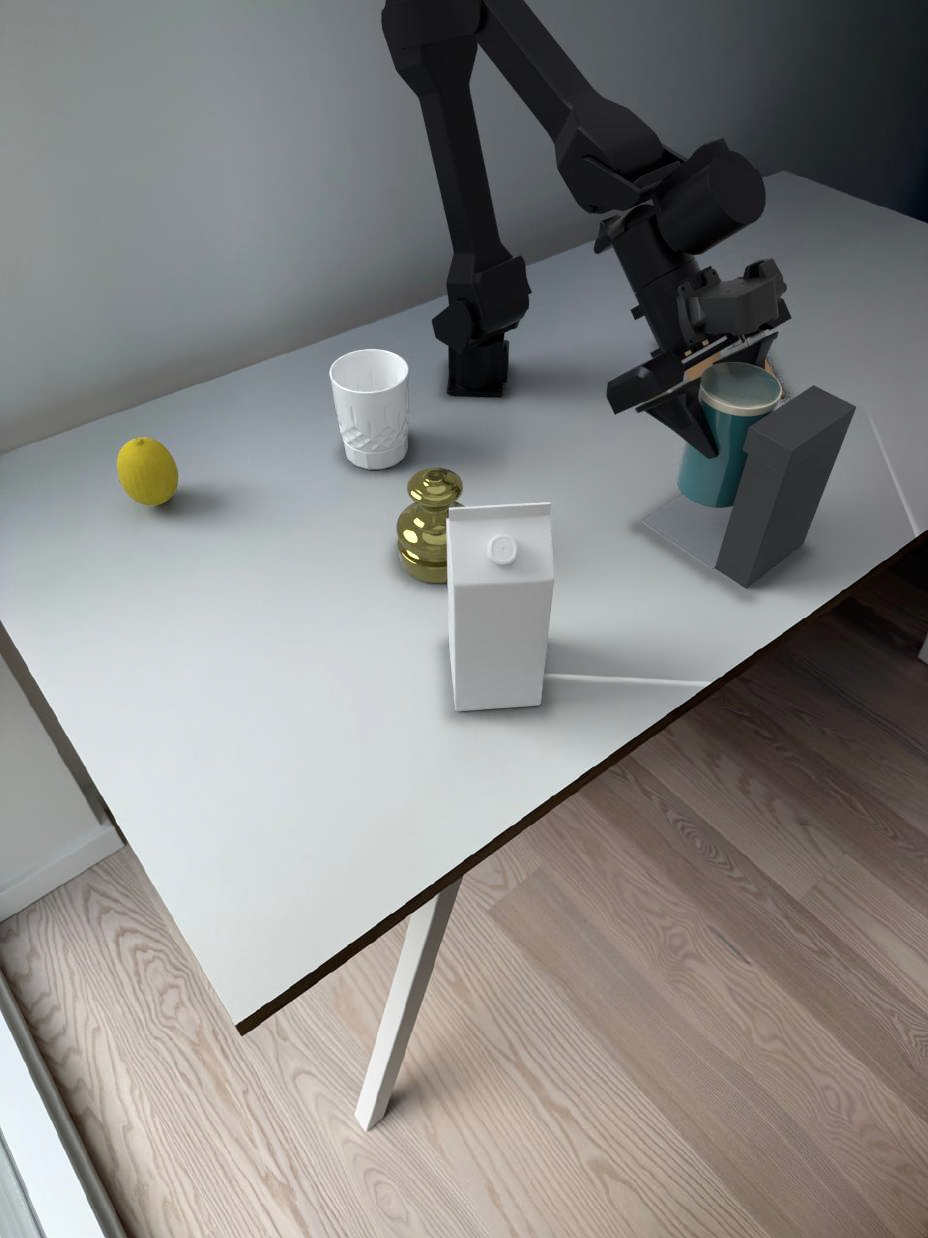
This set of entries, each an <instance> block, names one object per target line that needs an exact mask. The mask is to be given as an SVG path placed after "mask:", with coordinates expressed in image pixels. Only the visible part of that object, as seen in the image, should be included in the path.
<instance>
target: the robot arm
mask: <svg viewBox="0 0 928 1238" xmlns="http://www.w3.org/2000/svg"><path fill="white" fill-rule="evenodd" d="M380 23H381V31H382V34H383V37H384V39H385V42H386V46H387V48H388V51H389V54H390V57H391V61H392V63H393V67H394V69H395V71H396V73H397V74H398V76H400V77H401V79H402V80H403V81H404V82H405V84H406V85H407V86H408V87H409V88H410V90H411V91H412V92H413V93H414V94H415V96H416V97H417V98H418V102H419V105H420V110H421V114H422V118H423V123H424V127H425V131H426V135H427V140H428V141H427V142H428V144H429V150H430V154H431V158H432V162H433V167H434V171H435V176H436V180H437V184H438V189H439V193H440V198H441V202H442V206H443V210H444V211H443V212H444V215H445V220H446V224H447V228H448V233H449V237H450V242H451V245H452V251H453V255H452V259H451V262H450V266H449V270H448V274H447V278H446V283H445V286H446V291H447V292H446V293H447V300H448V306H447V307H445V308H444V309H443V310H442V311H441V312H439V313H438V314H437V315H436V316H434V317H433V318H432V319H431V326H432V331H433V333H434V338H435V339H436V340H438V341H439V342H441V343H442V344H444V345H445V346H447V362H448V363H447V364H448V365H447V366H448V377H447V383H446V394H447V395H451V396H476V397H477V396H478V397H480V396H481V397H502V396H503V394H504V385H505V384H507V383H508V379H509V360H510V340H508V339H505V334H506V333H507V332H509V331H512V330H516V329H518V328H519V324H520V322H521V320H522V319H524V317H525V315H526V313H527V312H528V311H529V309H530V295H531V294H532V293H533V291H532V288H531V286H530V284H529V281H528V277H527V266H526V261H525V259H524V257H523V256H522V255H515V256H514V255H513V254H512V253H511V252H510V250H509V249H508V247H506V246H505V244H504V243H503V242H502V241H501V237H500V233H499V228H498V223H497V218H496V213H495V209H494V204H493V203H494V202H493V198H492V194H491V188H490V183H489V178H488V174H487V167H486V163H485V157H484V153H483V148H482V144H481V138H480V133H479V132H480V131H479V128H478V123H477V118H476V114H475V113H476V112H475V107H474V102H473V98H472V93H471V86H470V84H471V78H472V74H473V70H474V67H475V62H476V57H477V53H478V50H479V47H480V48H481V50H482V51H483V52H484V54H485V55H487V57H488V58H489V60H490V61H491V62H492V63H493V65H494V66H495V68H497V70H498V71H499V73H501V75H502V76H503V77H504V79H505V80H506V81H507V83H508V84H509V86H510V87H511V88H512V90H514V92H515V93H516V94H517V96H518V97H519V98H520V99H521V101H522V102H523V103H524V105H525V106H526V107H527V108H528V109H529V111H530V112H531V114H532V115H533V116H534V117H535V119H536V120H537V122H539V124H540V125H541V127H543V129H544V131H546V133H547V134H548V136H549V138H550V140H551V141H552V142H553V145H554V155H555V163H556V169H557V172H558V173H559V175H560V177H561V178H562V180H563V182H564V183H565V185H566V187H567V189H568V190H569V192H570V194H571V195H572V197H573V199H574V201H575V202H576V204H577V205H578V206H579V208H581V209H582V210H583V211H584V212H586V213H587V214H589V215H592V214H594V215H604V214H606V213H608V212H611V211H613V210H615V211H621V212H625V211H628V210H629V211H628V212H627V213H625V214H624V215H623V216H622V215H620V214H618V213H615V214H613V215H611V216H608V217H605V218H603V219H601V220H600V221H599V229H598V234H597V236H596V238H595V241H594V245H593V248H592V249H593V250H592V251H593V253H594V254H595V255H600V254H603V253H605V252H607V251H609V250H611V249H613V251H614V254H615V256H616V258H617V260H618V262H619V264H620V267H621V269H622V270H623V273H624V276H625V277H626V280H627V281H628V283H629V286H630V288H631V290H632V292H633V294H634V297H635V299H636V301H637V303H638V305H636V306H634V307H633V308H631V309H630V312H631V313H630V314H632V317H633V319H634V321H638V320H639V319H642V318H643V317H644V318H645V321H646V322H647V325H648V327H649V330H650V331H651V333H652V336H653V339H654V340H655V342H656V344H657V347H658V348H657V349H655V350H653V351H651V352H650V356H651V358H649V359H648V360H646V361H644V362H643V363H640V364H638V365H636V366H634V367H632V368H631V369H629V370H626V371H624V372H623V373H622V374H619V375H617V376H616V377H614V378H612V379H610V380H609V381H607V385H606V391H605V392H606V393H605V397H606V400H607V402H608V404H609V407H610V408H611V410H612V412H613V414H614V416H616V415H618V414H620V413H622V412H625V411H627V410H629V409H632V408H634V407H635V408H634V411H635V412H636V413H637V414H640V413H643V412H645V413H646V414H648V415H649V416H651V417H652V418H653V419H655V420H657V421H658V422H660V423H661V424H662V425H664V426H665V427H667V428H669V429H670V430H671V431H673V432H674V433H675V434H677V436H679V437H680V438H681V439H682V440H684V441H687V442H688V443H689V444H690V445H691V446H693V447H694V448H695V449H696V450H698V451H699V452H700V453H701V454H703V455H704V456H705V457H706V458H708V459H712V458H715V457H717V456H718V455H719V452H718V448H717V445H716V442H715V439H714V436H713V434H712V431H711V429H710V426H709V424H708V421H707V419H706V417H705V414H704V412H703V409H702V407H701V404H700V402H699V398H698V397H699V390H700V385H701V377H699V378H696V379H694V380H692V381H689V378H688V376H687V374H686V372H685V371H686V370H688V369H690V368H692V367H693V366H695V365H697V364H699V363H700V362H702V361H704V360H705V359H707V358H709V357H711V356H712V355H714V354H716V353H718V352H720V355H721V357H722V358H720V359H719V360H717V361H715V362H714V363H712V364H713V365H715V364H719V363H725V362H739V363H746V364H751V365H754V366H757V367H760V368H762V369H764V370H765V359H766V360H767V355H768V354H769V351H770V349H771V347H772V345H773V343H774V341H775V340H776V339H778V336H779V331H778V330H777V331H774V332H772V333H770V334H768V335H767V334H766V332H765V331H772V330H774V329H775V328H777V327H779V326H781V325H782V324H784V323H786V322H788V321H790V320H791V319H793V317H792V315H791V313H790V311H789V308H788V306H787V303H786V301H785V299H784V298H783V297H782V296H783V295H784V294H785V293H786V292H787V290H788V286H787V284H786V282H785V281H784V276H783V274H782V272H781V269H780V268H779V267H778V265H777V263H776V260H775V259H774V257H773V258H760V259H758V260H755V261H754V262H752V263H750V264H748V265H746V266H745V269H744V272H743V276H737V277H735V278H734V279H731V280H723V281H722V279H721V278H720V276H719V273H718V270H716V269H715V268H713V267H712V265H709V266H707V267H705V268H703V269H701V267H700V265H699V262H698V260H697V258H696V256H698V255H699V256H700V255H703V254H705V253H707V252H708V251H709V250H711V249H713V248H714V247H716V246H718V245H720V244H721V243H723V242H724V241H726V240H728V239H729V238H731V237H732V236H734V235H736V234H737V233H739V232H741V231H742V230H744V229H745V228H747V227H749V226H750V225H752V224H754V223H756V222H757V221H758V220H759V219H760V218H761V217H762V215H763V213H764V211H765V208H766V203H767V202H766V201H767V192H766V186H765V181H764V179H763V176H762V174H761V172H760V170H759V169H758V168H755V167H754V165H753V164H752V163H751V161H749V160H748V158H746V156H744V155H743V154H741V153H739V152H737V151H735V150H731V149H730V148H729V146H728V143H727V141H726V139H725V137H723V136H719V137H716V138H713V139H711V140H709V141H706V142H704V144H702V145H701V146H699V147H698V148H697V149H696V150H695V151H694V152H693V153H692V154H691V156H690V157H688V158H687V157H686V156H684V155H682V154H681V153H679V152H677V151H675V150H674V149H672V148H671V147H669V146H668V145H666V144H664V143H662V141H661V139H660V138H659V136H658V134H657V132H655V131H654V130H653V128H651V127H650V126H649V125H648V124H647V123H646V122H644V121H643V119H641V118H640V117H639V116H638V115H637V114H635V112H633V111H632V110H631V109H630V108H628V107H626V106H624V105H621V104H620V103H617V102H615V101H613V100H610V99H608V98H606V97H604V96H603V95H601V94H600V93H599V92H598V91H597V90H596V89H595V88H594V87H593V86H592V85H591V83H590V82H589V81H588V79H587V78H586V77H585V76H584V74H583V73H582V72H581V70H579V68H578V67H577V65H576V64H575V63H574V62H573V60H572V59H571V58H570V56H569V55H568V54H567V53H566V52H565V50H564V49H563V48H562V47H561V45H560V44H559V43H558V42H557V40H556V38H554V36H553V35H552V34H551V33H550V31H549V30H548V29H547V28H546V26H545V25H544V24H543V23H542V21H541V20H540V19H539V17H538V16H537V15H536V14H535V13H534V11H533V10H532V9H531V7H530V6H529V5H528V4H527V2H526V1H525V0H385V2H384V6H383V8H382V9H381V12H380ZM649 201H651V202H652V204H649V203H647V202H649ZM703 341H708V344H706V345H703V343H702V342H703ZM689 350H690V351H691V353H690V354H688V355H685V352H687V351H689Z"/></svg>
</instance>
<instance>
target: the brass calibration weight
mask: <svg viewBox="0 0 928 1238" xmlns="http://www.w3.org/2000/svg"><path fill="white" fill-rule="evenodd" d="M406 492H407V494H408V497H410V499H411V500H412V501H413V502H412V503H411V504H409V505H408V506H407V507H406V508H404V509H403V510H402V512H401V513H400V514H399V516H398V518H397V521H396V534H397V549H398V554H399V555H398V556H399V563H400V565H401V567H402V569H403V570H404V571H405V572H406V573H407V574H408V575H409V576H410V577H413V578H414V579H416V580H418V581H421V582H424V583H431V584H443V583H448V573H447V526H446V519H447V518H449V508H452V507H466V505H465V504H462V503H460V502H459V501H458V500H459V499H460V498H461V497H462V495H463V492H464V484H463V480H462V479H461V477H460V476H459V474H457V473H456V472H454V471H452V470H450V469H448V468H444V467H436V466H435V467H427V468H423V469H420V470H418V471H417V472H415V473H414V474H411V476H410V477H409V479H408V481H407V484H406Z"/></svg>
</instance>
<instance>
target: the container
mask: <svg viewBox="0 0 928 1238" xmlns="http://www.w3.org/2000/svg"><path fill="white" fill-rule="evenodd" d="M775 376H776V375H775ZM775 376H773V375H772V374H771V373H769V372H768V371H766V370H764V369H762V368H760V367H757V366H754V365H751V364H746V363H739V362H725V363H719V364H715V365H712V366H710V367H708V368H707V369H705V370H704V371H703V372H702V373H701V375H700V377H701V385H700V390H699V397H698V398H699V402H700V404H701V407H702V409H703V412H704V414H705V417H706V419H707V421H708V424H709V426H710V429H711V431H712V434H713V436H714V439H715V442H716V445H717V448H718V452H719V455H718V456H717V457H715V458H712V459H708V458H706V457H705V456H704V455H703V454H701V453H700V452H699V451H698V450H696V449H695V448H694V447H693V446H691V445H690V444H689V443H688V442H687V441H685V440H684V441H685V442H684V445H683V449H682V453H681V458H680V462H679V467H678V472H677V474H676V485H677V488H678V489H679V491H680V493H682V494H684V495H685V496H686V497H687V498H689V499H690V500H692V501H693V502H695V503H698V504H700V505H703V506H707V507H713V508H726V507H732V506H733V505H734V501H735V498H736V494H737V491H738V488H739V484H740V481H741V477H742V474H743V471H744V467H745V464H746V460H747V457H748V453H746V452H744V451H743V447H744V444H745V440H746V437H747V433H748V430H749V427H750V426H752V425H753V424H755V423H756V422H758V421H759V420H761V419H762V418H764V417H765V416H767V415H768V414H770V413H772V412H773V411H775V410H776V409H777V407H778V405H779V404H780V401H781V399H782V398H781V395H782V389H783V388H782V384H781V382H780V381H779V379H778V378H777V377H775Z"/></svg>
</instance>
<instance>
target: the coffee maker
mask: <svg viewBox="0 0 928 1238" xmlns="http://www.w3.org/2000/svg"><path fill="white" fill-rule="evenodd" d="M856 409H857V405H854V404H852V403H850V402H849V401H847V400H844V399H842V398H840V397H838V396H836V395H835V394H833V393H830V392H829V391H826V390H825V389H822V388H821V387H819V386H817V385H811V386H809V388H807V389H805V390H804V391H803V392H801V393H798V395H796V396H795V397H793V398H792V399H790V400H789V401H787V402H786V403H784V404H782V405H781V406H779V407H778V408H776V410H775V411H773V412H772V413H770V414H768V415H767V416H765V417H764V418H762V419H761V420H759V421H758V422H756V423H755V424H753V425H752V426H750V427H749V430H748V433H747V437H746V440H745V444H744V447H743V451H744V452H746V453H748V457H747V460H746V464H745V467H744V471H743V474H742V477H741V481H740V484H739V488H738V491H737V494H736V498H735V501H734V505H733V506H732V507H726V508H713V507H707V506H703V505H700V504H698V503H695V502H693V501H692V500H690V499H689V498H687V497H686V496H685V495H684V494H683V493H682V494H680V495H679V496H677V497H676V498H675V499H673V500H671V501H670V502H668V503H667V504H665V505H664V506H662V507H661V508H659V509H658V510H656V511H655V512H653V513H652V514H650V515H649V516H647V517H646V518H644V519H643V520H641V523H642V524H643V525H645V526H647V528H649V529H651V530H653V531H654V532H656V533H657V534H659V535H660V536H662V537H663V538H665V539H666V540H668V541H669V542H670V543H672V544H674V545H675V546H676V547H678V548H680V549H681V550H683V551H684V552H685V553H687V554H688V555H690V556H692V557H693V558H694V559H696V560H697V561H699V562H701V563H702V564H704V565H705V566H707V567H708V568H709V569H711V570H714V569H715V570H717V571H718V572H719V573H721V574H723V575H725V576H726V577H728V578H729V579H730V580H732V581H734V582H735V583H736V584H738V585H739V586H741V587H742V588H744V589H749V588H750V586H752V585H753V584H754V583H755V582H757V581H758V580H760V579H761V578H762V577H763V576H765V575H767V573H768V572H770V571H771V570H773V569H774V568H775V567H776V566H777V565H779V564H781V563H782V562H783V561H784V560H785V559H787V558H788V557H789V556H791V554H793V553H795V552H796V551H797V550H798V549H800V548H801V547H802V546H803V545H804V544H805V541H806V539H807V536H808V533H809V531H810V529H811V526H812V523H813V521H814V518H815V515H816V514H817V513H816V512H817V510H818V508H819V505H820V502H821V500H822V497H823V494H824V493H825V489H826V487H827V484H828V482H829V480H830V477H831V474H832V472H833V469H834V466H835V464H836V462H837V458H838V456H839V455H840V451H841V449H842V446H843V443H844V440H845V438H846V435H847V432H848V430H849V428H850V425H851V422H852V419H853V417H854V414H855V412H856V411H857V410H856Z"/></svg>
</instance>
